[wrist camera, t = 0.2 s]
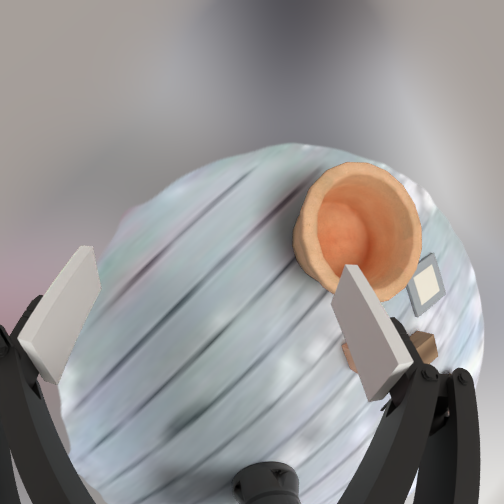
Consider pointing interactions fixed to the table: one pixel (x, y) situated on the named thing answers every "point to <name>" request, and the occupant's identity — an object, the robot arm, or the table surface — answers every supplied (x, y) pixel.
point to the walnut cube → (425, 346)
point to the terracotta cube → (349, 357)
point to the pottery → (359, 229)
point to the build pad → (425, 285)
